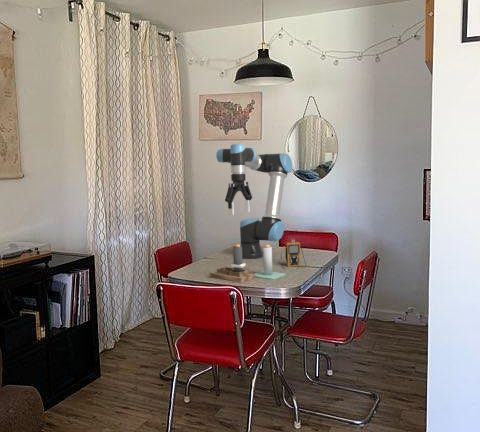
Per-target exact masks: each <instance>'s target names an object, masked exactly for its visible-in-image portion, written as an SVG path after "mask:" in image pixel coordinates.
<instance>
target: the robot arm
mask: <svg viewBox="0 0 480 432" xmlns="http://www.w3.org/2000/svg"><path fill="white" fill-rule="evenodd" d="M215 155H216V159H217V162H219V163H228V164H230V169H231V170H230V172H231V175H230V178H231V181H232V182H230V183H228V188H227V192H226V195H225V200H224V202H226V203H227V208H228V215H229V216H234V215H235V210H234V206H235V205H234V202H233V201H234V199H235V197H236V195H237V193H238V192H241V194H242V196H243V198H244V212H245V213H250V209H251V208H250V205H251V204H250V203H251V202H250V201H252V199H253V194H252V192H251V190H250V185H249V181H246V167H247V168H248V169H251V170H252V171H257V172H261V173H266V174H268V176H269V185H268V191H267V198H266V199H267V200H266V204H265V211H264V215H262V217H261V220H260V218H259V217H255V218H254V217H252V218H246V219H243V220H241V221H240V222H239V233H240V238H239V239H240V247H242V259H259V258H263V248H262V247H261V243H260V241H268V242H277V241H279V240H280V239H282V238H283V237H282V235H283V236H284V234H283V233H284V232H285V227H284V226H285V225H284V223H283V222H282V218H281V217H280V211H281V206H282V205H281V204H282V197H283V191H284V182H285V179H286V178H287V177H288V174H289V173H291V172H292V170H293V162H292V159H291V157H290V155H289V154H288V153H282V152H281V153H265V154H257V151H256V150H255V149H254V148H252V147H246V146H245V144H243V143H237V144H236V143H232V144H231V145H230V148H219V149H217V152H216V154H215Z"/></svg>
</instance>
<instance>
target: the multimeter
mask: <svg viewBox="0 0 480 432" xmlns="http://www.w3.org/2000/svg"><path fill="white" fill-rule="evenodd" d="M296 231H297V232H298V233H299V234H300V236H302V234H301V232H300V231H299V230H297V229H294V232H296ZM288 232H289V233H291V235H293V233H292V232H291V231H290V230H288ZM285 233H287V230H286V231H285V230H284V232H283V235H282V237H281V238H280V239H281V240H280V242H282V240H283V236H284V234H285ZM301 253H302V257H303V260H304V264H305V266H301ZM280 258H281V260H283V259H282V254H280ZM285 260H286V266H287V267H285V269H288V270H289V269H290V270H291V269H293V270H296V269H297V268H305V267H306V266H307V263H306V261H305V257H304V252H303V249H302V247H301V242H299V241H296V242H295V239H291V242H286V243H285ZM292 267H294V268H292ZM281 269H284V267H283V264H281Z"/></svg>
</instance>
